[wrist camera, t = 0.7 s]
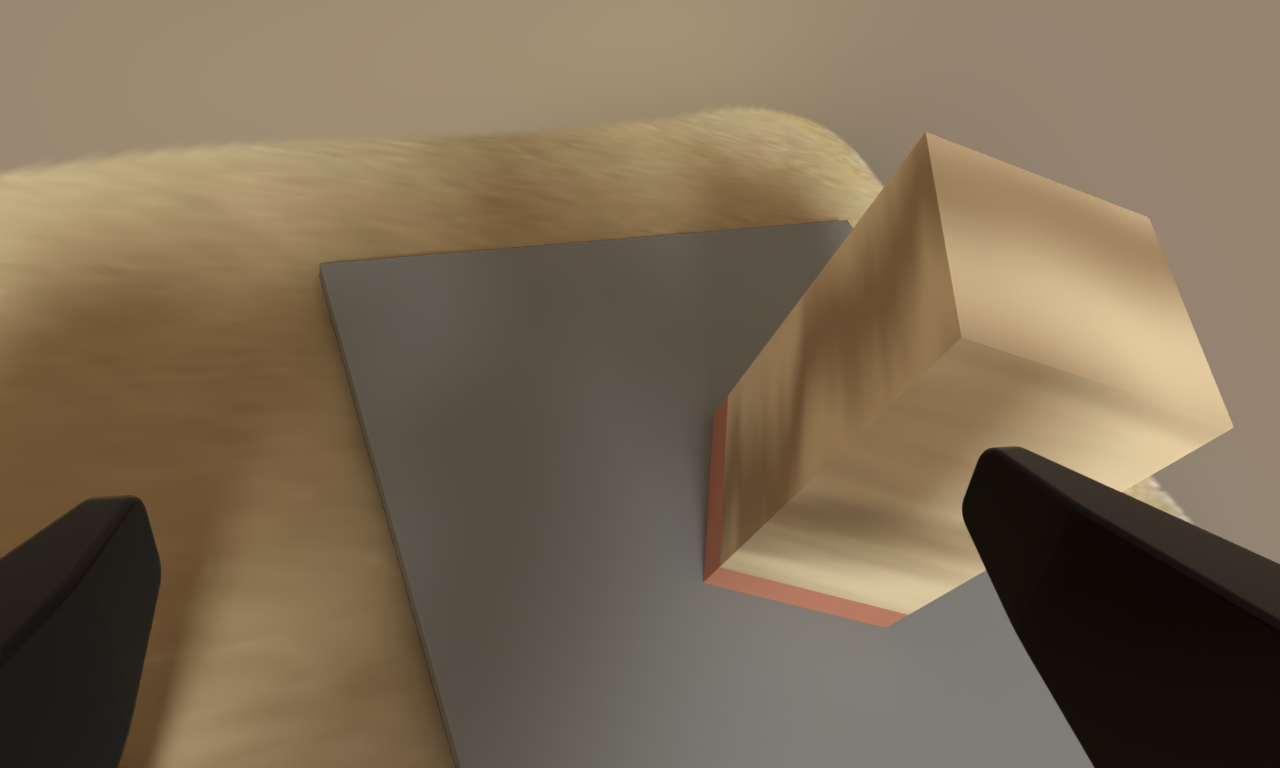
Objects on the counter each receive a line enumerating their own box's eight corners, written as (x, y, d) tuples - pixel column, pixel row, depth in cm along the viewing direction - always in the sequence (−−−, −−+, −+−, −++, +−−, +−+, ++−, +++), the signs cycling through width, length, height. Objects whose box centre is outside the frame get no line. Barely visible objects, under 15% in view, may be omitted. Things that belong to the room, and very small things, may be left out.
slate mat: (1246, 852, 25) (1264, 850, 25) (621, 1365, 15) (632, 1378, 14) (840, 229, 36) (847, 219, 36) (319, 276, 26) (319, 263, 26)
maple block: (885, 627, 25) (1233, 427, 16) (702, 583, 24) (961, 337, 14) (872, 460, 28) (1148, 217, 19) (713, 414, 27) (925, 132, 18)
